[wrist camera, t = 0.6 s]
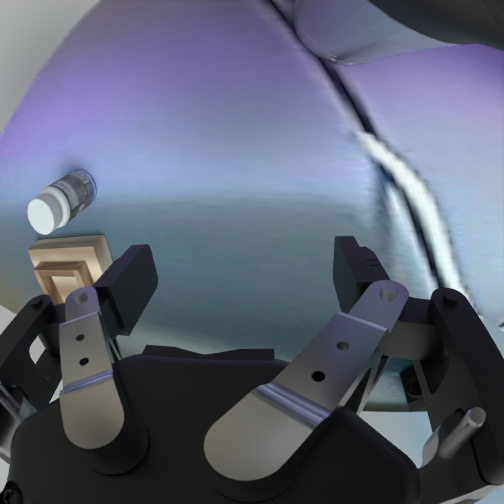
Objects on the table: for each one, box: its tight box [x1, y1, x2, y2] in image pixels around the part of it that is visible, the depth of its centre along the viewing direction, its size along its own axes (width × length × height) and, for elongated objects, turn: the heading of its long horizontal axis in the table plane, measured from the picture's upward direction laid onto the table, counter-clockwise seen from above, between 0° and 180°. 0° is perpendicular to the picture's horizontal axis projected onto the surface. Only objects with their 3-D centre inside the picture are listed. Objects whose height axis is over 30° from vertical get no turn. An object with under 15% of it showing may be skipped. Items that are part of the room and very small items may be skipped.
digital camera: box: [400, 367, 426, 412], centre depth 41 cm, size 10×5×7 cm, turn 119°
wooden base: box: [28, 235, 113, 305], centre depth 35 cm, size 13×13×5 cm
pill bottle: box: [28, 170, 96, 235], centre depth 27 cm, size 5×5×8 cm
